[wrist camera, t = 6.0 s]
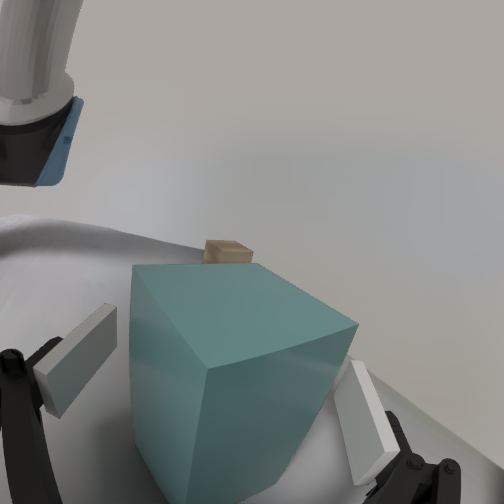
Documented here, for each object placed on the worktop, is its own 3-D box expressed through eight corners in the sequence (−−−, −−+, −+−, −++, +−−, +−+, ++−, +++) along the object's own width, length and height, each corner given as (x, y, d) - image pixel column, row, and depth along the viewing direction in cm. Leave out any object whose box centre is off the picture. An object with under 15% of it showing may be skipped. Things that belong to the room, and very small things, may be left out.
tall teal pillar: (134, 441, 14) (132, 264, 11) (219, 419, 17) (257, 263, 14) (182, 524, 9) (207, 368, 6) (275, 483, 13) (358, 323, 10)
